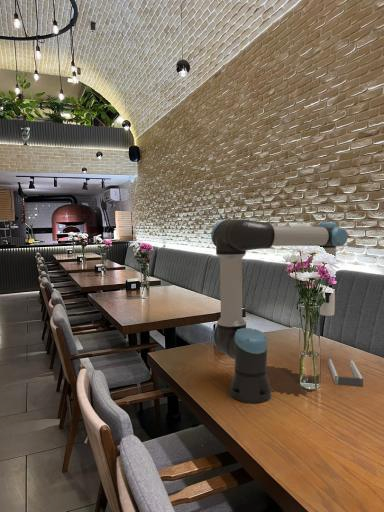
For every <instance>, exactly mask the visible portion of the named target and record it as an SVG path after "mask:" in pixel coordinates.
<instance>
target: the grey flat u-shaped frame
mask: <svg viewBox="0 0 384 512" xmlns="http://www.w3.org/2000/svg"><path fill="white" fill-rule="evenodd" d="M334 365H335V364H334V362H333V360H332V359H331V358H329V359H328V368H329V370H330V373H331V376H332V379H333V381H334V384H335V385H339V386H340V385H341V386H353V387H354V386H355V387H364V378H363V376H362V375H361V373H360V371H359V369H358V367H357V366H356V364H355V362H354V360H350V367H349V368H350V369H351V371H352V373H353V375H354V377H353V376H339V375H338V373H337V371H336V368H335V366H334Z"/></svg>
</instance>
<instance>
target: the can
mask: <svg viewBox="0 0 384 512" xmlns="http://www.w3.org/2000/svg"><path fill="white" fill-rule="evenodd" d="M332 288H333V289H334V292H333V293H331V295H330V296H329V303H325V310H324V303H323V304H322V305H321V307H320V314H319V315H320V316H322V317H332V316H333V317H334V315H335V312H336V311H335V308H336V307H335V306H336V305H335V304H336V303H335V302H336V300H335V299H336V298H335V297H336V292H335V288H334V287H332ZM325 301H326V299H325Z"/></svg>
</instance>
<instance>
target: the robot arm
mask: <svg viewBox="0 0 384 512" xmlns="http://www.w3.org/2000/svg"><path fill="white" fill-rule="evenodd" d="M210 236H211V237H210V238H211V243H213V246H215V254H216V256H217V257H218V258H219V269H220V270H219V271H220V272H219V274H220V276H219V280H220V284H219V285H220V292H219V293H220V317H219V319H218V320H217V322H216V326H215V328H214V329H213V331H212V342H213V345H214V346H215V348H216V349H217V350H218V351H219V352H220V353H222V354H224V355H226V356H227V357H229V358H231V359H232V360H234V374H233V377H232V380H231V383H230V386H229V387H230V388H229V394H230V396H231V397H232V398H233V399H234V400H237V401H239V402H242V403H249V404H258V403H264V402H266V401H269V400H270V398H271V397H272V387H271V384H270V381H269V378H268V375H267V364H268V362H267V360H268V359H267V357H268V356H267V354H268V341H267V335H266V334H265V333H264V332H263V331H262V330H259V329H255V328H251V327H247V321H246V320H245V319H244V318H243V258H244V256H245V255H246V254H247V253H246V252H247V251H251V250H252V251H253V250H262V249H263V250H264V249H270V248H272V247H278V246H279V247H281V246H282V247H284V246H285V247H286V246H288V247H292V246H293V247H294V246H295V247H306V246H307V247H309V246H310V247H311V246H312V247H315V246H316V247H318V246H320V247H323V248H324V249H325V251H326V252H327V253H329V254H332V255H334V256H335V257H336V256H337V252H338V249H337V247H342V246H344V245H346V243H347V241H348V236H349V235H348V232H347V230H346V229H345V228H343V227H339V226H337V223H336V222H330V221H329V222H319V223H318V226H300V225H299V226H298V225H273V224H272V223H271V222H263V221H256V220H249V219H231V218H230V219H225V220H220V221H218V222H217V223H216V224H215V225H214V226H213V228H212V229H211V235H210ZM329 287H331V288H332V285H331V286H329ZM330 295H331V293H326V294H325V296H326V301H325V302H324V310H325V303H329V296H330Z"/></svg>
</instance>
